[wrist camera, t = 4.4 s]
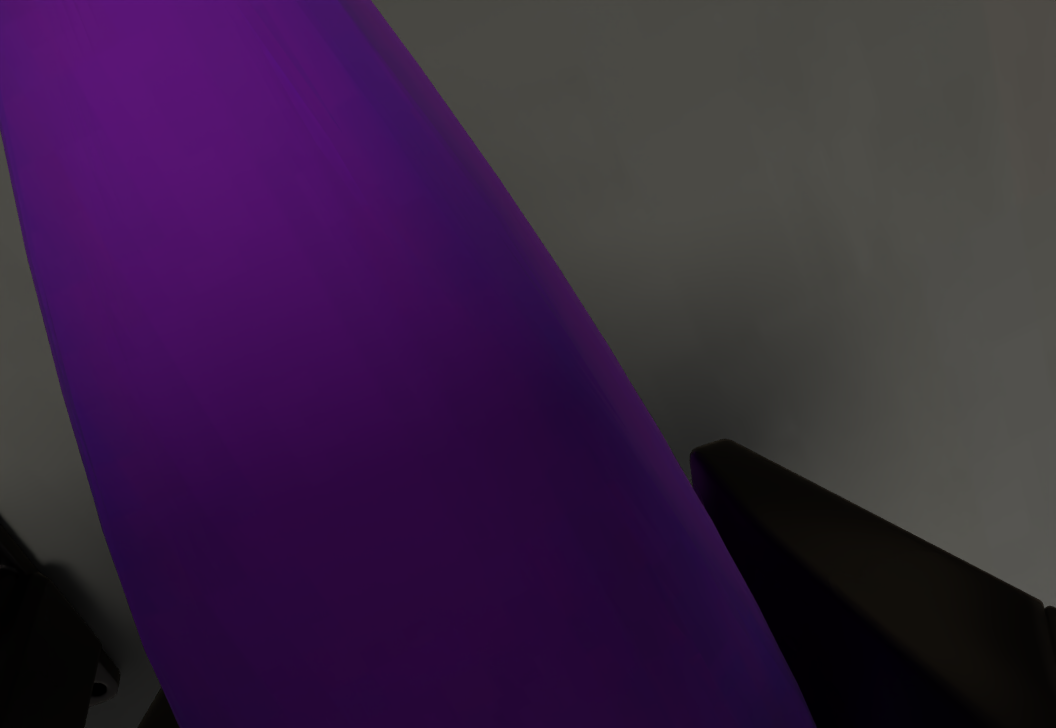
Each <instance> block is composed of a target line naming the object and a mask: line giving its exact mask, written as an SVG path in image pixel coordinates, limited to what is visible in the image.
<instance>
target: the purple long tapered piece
mask: <svg viewBox="0 0 1056 728" xmlns="http://www.w3.org/2000/svg"><path fill="white" fill-rule="evenodd" d="M0 130H1V135H2V140H3V145H4V150H5V154H6V159H7V164H8V169H9V173H10V178H11V183H12V188H13V192H14V197H15V202H16V207H17V211H18V216H19V221H20V226H21V231H22V235H23V240H24V245H25V250H26V254H27V258H28V262H29V266H30V270H31V274H32V278H33V281H34V285H35V289H36V293H37V297H38V301H39V305H40V309H41V312H42V316H43V320H44V324H45V328H46V332H47V336H48V340H49V344H50V347H51V351H52V355H53V359H54V363H55V367H56V371H57V375H58V378H59V382H60V386H61V390H62V394H63V397H64V401H65V404H66V407H67V411H68V414H69V417H70V421H71V424H72V428H73V431H74V434H75V438H76V441H77V444H78V448H79V451H80V455H81V458H82V461H83V465H84V468H85V471H86V475H87V478H88V481H89V485H90V488H91V492H92V495H93V498H94V502H95V505H96V509H97V513H98V516H99V520H100V523H101V527H102V530H103V533H104V536H105V539H106V542H107V545H108V548H109V550H110V553H111V556H112V559H113V562H114V565H115V568H116V570H117V573H118V576H119V579H120V582H121V585H122V587H123V590H124V593H125V596H126V599H127V602H128V605H129V607H130V610H131V613H132V616H133V619H134V622H135V624H136V627H137V630H138V633H139V636H140V639H141V642H142V644H143V647H144V650H145V652H146V654H147V657H148V659H149V661H150V663H151V665H152V667H153V669H154V672H155V674H156V676H157V678H158V680H159V682H160V685H161V687H162V689H163V691H164V694H165V696H166V698H167V700H168V703H169V705H170V707H171V709H172V712H173V714H174V716H175V718H176V721H177V723H178V725H179V727H180V728H817V727H816V724H815V722H814V720H813V717H812V715H811V713H810V711H809V708H808V706H807V704H806V702H805V699H804V697H803V695H802V692H801V690H800V688H799V686H798V683H797V681H796V679H795V678H794V676H793V674H792V672H791V670H790V668H789V666H788V664H787V662H786V660H785V658H784V656H783V654H782V652H781V650H780V648H779V646H778V644H777V642H776V640H775V638H774V636H773V634H772V632H771V630H770V628H769V626H768V624H767V622H766V620H765V618H764V616H763V614H762V612H761V610H760V608H759V606H758V604H757V602H756V601H755V599H754V597H753V595H752V593H751V591H750V589H749V588H748V586H747V584H746V582H745V580H744V579H743V577H742V575H741V573H740V571H739V570H738V568H737V566H736V564H735V562H734V561H733V559H732V557H731V555H730V553H729V552H728V550H727V548H726V546H725V544H724V542H723V540H722V538H721V537H720V535H719V533H718V531H717V529H716V527H715V525H714V523H713V521H712V520H711V518H710V516H709V515H708V513H707V511H706V510H705V508H704V506H703V505H702V503H701V501H700V500H699V498H698V496H697V494H696V493H695V491H694V489H693V488H692V486H691V484H690V482H689V481H688V479H687V477H686V475H685V474H684V472H683V470H682V469H681V467H680V465H679V463H678V462H677V460H676V458H675V456H674V455H673V453H672V451H671V449H670V447H669V446H668V444H667V442H666V440H665V438H664V437H663V435H662V433H661V431H660V430H659V428H658V426H657V425H656V423H655V422H654V420H653V418H652V417H651V415H650V413H649V412H648V410H647V409H646V407H645V405H644V404H643V402H642V400H641V399H640V397H639V396H638V394H637V392H636V391H635V389H634V387H633V386H632V384H631V382H630V381H629V379H628V377H627V376H626V374H625V372H624V371H623V369H622V367H621V366H620V364H619V362H618V361H617V359H616V357H615V356H614V354H613V352H612V351H611V349H610V347H609V346H608V344H607V343H606V341H605V339H604V338H603V336H602V335H601V333H600V332H599V330H598V328H597V327H596V325H595V324H594V322H593V321H592V319H591V317H590V316H589V314H588V313H587V311H586V310H585V308H584V306H583V305H582V303H581V302H580V300H579V299H578V297H577V295H576V294H575V292H574V291H573V289H572V288H571V286H570V284H569V283H568V281H567V280H566V278H565V277H564V275H563V273H562V272H561V270H560V269H559V267H558V266H557V264H556V263H555V261H554V260H553V258H552V257H551V255H550V254H549V252H548V251H547V249H546V248H545V246H544V245H543V243H542V242H541V240H540V239H539V237H538V236H537V234H536V233H535V231H534V230H533V228H532V227H531V225H530V224H529V222H528V221H527V219H526V218H525V216H524V215H523V213H522V212H521V211H520V209H519V208H518V206H517V205H516V203H515V202H514V200H513V199H512V197H511V196H510V194H509V193H508V191H507V190H506V188H505V187H504V185H503V184H502V182H501V180H500V179H499V178H498V176H497V175H496V174H495V172H494V171H493V169H492V168H491V166H490V165H489V164H488V162H487V161H486V159H485V158H484V157H483V155H482V154H481V152H480V151H479V149H478V148H477V147H476V145H475V144H474V142H473V141H472V140H471V138H470V137H469V135H468V134H467V133H466V131H465V130H464V128H463V127H462V125H461V124H460V123H459V121H458V120H457V118H456V117H455V116H454V114H453V113H452V111H451V110H450V108H449V107H448V106H447V104H446V103H445V101H444V100H443V99H442V97H441V96H440V94H439V93H438V92H437V90H436V89H435V87H434V86H433V84H432V83H431V82H430V80H429V79H428V77H427V76H426V75H425V73H424V72H423V70H422V69H421V68H420V66H419V65H418V63H417V62H416V61H415V59H414V58H413V57H412V55H411V54H410V53H409V51H408V50H407V49H406V47H405V46H404V44H403V43H402V42H401V40H400V39H399V38H398V36H397V35H396V34H395V32H394V31H393V30H392V28H391V27H390V26H389V24H388V23H387V21H386V20H385V19H384V17H383V16H382V15H381V13H380V12H379V11H378V9H377V8H376V7H375V5H374V4H373V3H372V1H371V0H0Z"/></svg>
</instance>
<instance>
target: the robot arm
mask: <svg viewBox="0 0 1056 728" xmlns="http://www.w3.org/2000/svg"><path fill="white" fill-rule="evenodd" d="M690 468H691V476H692V484H693V489H694V491H695V493H696V494H697V496H698V498H699V500H700V501H701V503H702V505H703V506H704V508H705V510H706V511H707V513H708V515H709V516H710V518H711V520H712V521H713V523H714V525H715V527H716V529H717V531H718V533H719V535H720V537H721V538H722V540H723V542H724V544H725V546H726V548H727V550H728V552H729V553H730V555H731V557H732V559H733V561H734V562H735V564H736V566H737V568H738V570H739V571H740V573H741V575H742V577H743V579H744V580H745V582H746V584H747V586H748V588H749V589H750V591H751V593H752V595H753V597H754V599H755V601H756V602H757V604H758V606H759V608H760V610H761V612H762V614H763V616H764V618H765V620H766V622H767V624H768V626H769V628H770V630H771V632H772V634H773V636H774V638H775V640H776V642H777V644H778V646H779V648H780V650H781V652H782V654H783V656H784V658H785V660H786V662H787V664H788V666H789V668H790V670H791V672H792V674H793V676H794V678H795V679H796V681H797V683H798V686H799V688H800V690H801V692H802V695H803V697H804V699H805V702H806V704H807V706H808V708H809V711H810V713H811V715H812V717H813V720H814V722H815V724H816V727H817V728H1056V608H1055V607H1053V606H1047V607H1046V608H1045V609H1044V605H1043V603H1042V601H1041V600H1039V599H1037V598H1035V597H1033V596H1031V595H1029V594H1027V593H1025V592H1023V591H1022V590H1020V589H1018V588H1016V587H1014V586H1012V585H1010V584H1008V583H1006V582H1004V581H1002V580H1000V579H998V578H996V577H995V576H993V575H991V574H989V573H987V572H985V571H983V570H981V569H979V568H977V567H975V566H973V565H971V564H969V563H968V562H966V561H964V560H962V559H960V558H958V557H956V556H954V555H952V554H950V553H948V552H946V551H944V550H942V549H941V548H939V547H937V546H935V545H933V544H931V543H929V542H927V541H925V540H923V539H921V538H919V537H917V536H915V535H914V534H912V533H910V532H908V531H906V530H904V529H902V528H900V527H898V526H896V525H894V524H892V523H890V522H888V521H887V520H885V519H883V518H881V517H879V516H877V515H875V514H873V513H871V512H869V511H867V510H865V509H863V508H861V507H860V506H858V505H856V504H854V503H852V502H850V501H848V500H846V499H844V498H842V497H840V496H838V495H836V494H834V493H833V492H831V491H829V490H827V489H825V488H823V487H821V486H819V485H817V484H815V483H813V482H811V481H809V480H807V479H805V478H804V477H802V476H800V475H798V474H796V473H794V472H792V471H790V470H788V469H786V468H784V467H782V466H780V465H778V464H777V463H775V462H773V461H771V460H769V459H767V458H765V457H763V456H761V455H759V454H757V453H755V452H753V451H751V450H750V449H748V448H746V447H744V446H742V445H740V444H738V443H736V442H734V441H732V440H729V439H720V440H717V441H714V442H711V443H708V444H705V445H702V446H699V447H696V448H694V449H693V450H692V451H691V453H690ZM120 675H121V674H120V672H119V669H118V668H117V667H116V666H115V664H114V663H113V662H112V661H111V659H110V658H109V657H108V656H107V654H106V653H105V652H104V651H103V650H102V644H101V642H100V640H99V639H98V638H97V637H96V635H95V634H94V633H93V632H92V630H91V629H90V628H89V627H88V625H87V624H86V623H85V622H84V621H83V619H82V618H81V617H80V616H79V614H78V613H77V612H76V611H75V609H74V608H73V607H72V606H71V604H70V603H69V602H68V601H67V600H66V598H65V597H64V596H63V595H62V593H61V592H60V591H59V590H58V588H57V587H56V586H55V585H54V583H53V582H52V581H51V580H50V579H49V578H48V577H46V576H44V575H43V574H41V573H40V572H39V571H38V570H37V569H36V567H35V566H34V565H33V564H32V562H31V561H30V560H29V559H28V558H27V556H26V555H25V554H24V553H23V551H22V550H21V549H20V548H19V546H18V545H17V544H16V543H15V542H14V540H13V539H12V538H11V537H10V535H9V534H8V533H7V532H6V530H5V529H4V528H3V527H2V526H1V524H0V728H84V727H85V722H86V718H87V713H88V708H89V707H91V706H94V705H97V704H99V703H102V702H105V701H107V700H109V699H111V698H113V697H114V696H115V695H116V694H117V691H118V686H119V681H120ZM96 682H97V683H96ZM138 728H180V727H179V725H178V723H177V721H176V718H175V716H174V714H173V712H172V709H171V707H170V705H169V703H168V700H167V698H166V696H165V694H164V691H163V689H162V687H161V689H160V691H159V692H158V694H157V696H156V697H155V699H154V701H153V702H152V704H151V706H150V707H149V709H148V711H147V712H146V714H145V716H144V717H143V719H142V721H141V723H140V724H139V726H138Z"/></svg>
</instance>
